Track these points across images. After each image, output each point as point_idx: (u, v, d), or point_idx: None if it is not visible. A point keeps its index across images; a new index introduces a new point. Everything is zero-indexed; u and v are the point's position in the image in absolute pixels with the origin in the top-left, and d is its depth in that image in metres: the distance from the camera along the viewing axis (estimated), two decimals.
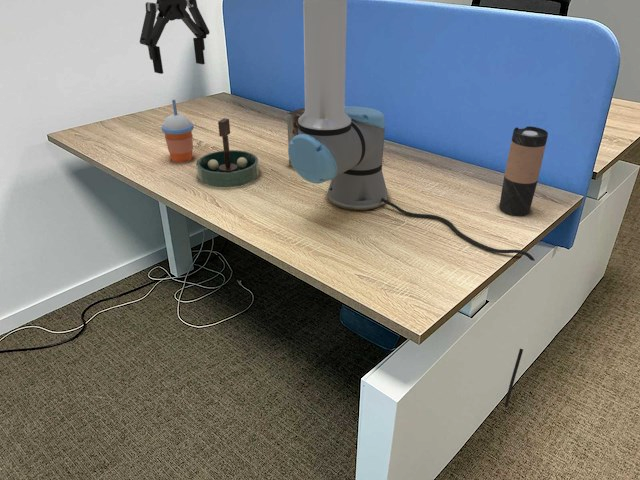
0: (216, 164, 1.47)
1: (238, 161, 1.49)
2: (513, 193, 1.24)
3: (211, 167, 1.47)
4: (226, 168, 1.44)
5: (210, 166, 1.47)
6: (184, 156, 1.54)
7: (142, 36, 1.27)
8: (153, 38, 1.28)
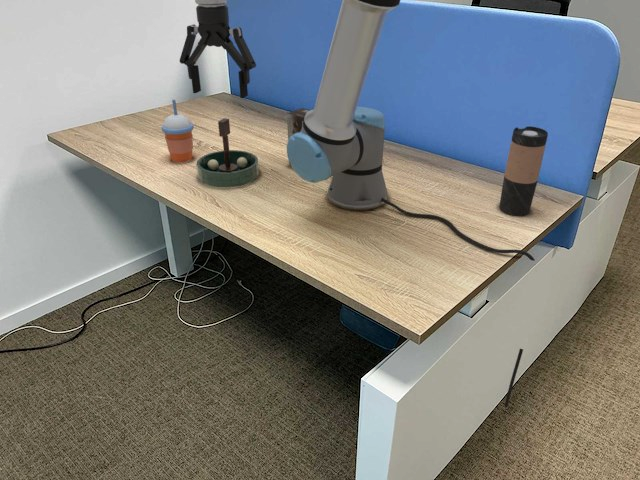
0: (216, 164, 1.47)
1: (238, 161, 1.49)
2: (513, 193, 1.24)
3: (211, 167, 1.47)
4: (226, 168, 1.44)
5: (210, 166, 1.47)
6: (184, 156, 1.54)
7: None
8: None
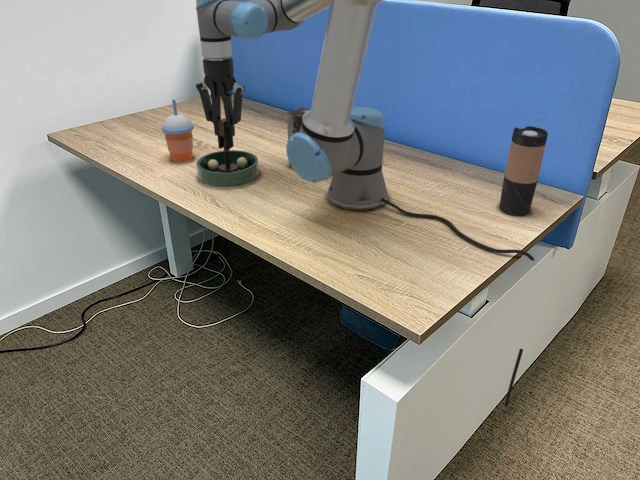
0: (216, 164, 1.47)
1: (238, 161, 1.49)
2: (512, 193, 1.24)
3: (211, 167, 1.47)
4: (226, 168, 1.44)
5: (210, 166, 1.47)
6: (184, 156, 1.54)
7: None
8: None
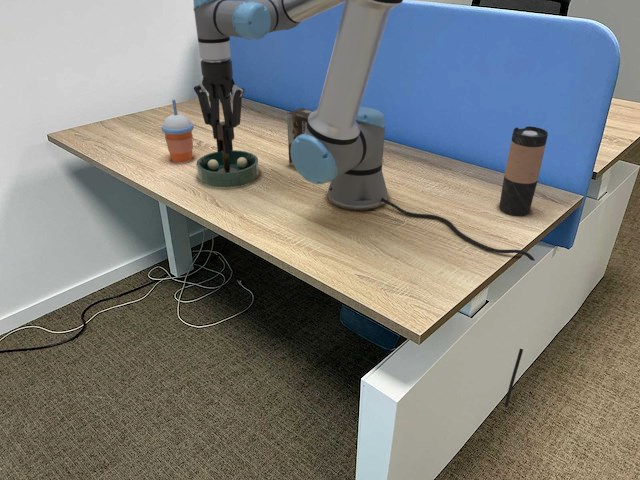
0: (216, 164, 1.47)
1: (238, 161, 1.49)
2: (512, 193, 1.24)
3: (211, 167, 1.47)
4: None
5: (210, 166, 1.47)
6: (184, 156, 1.54)
7: None
8: None
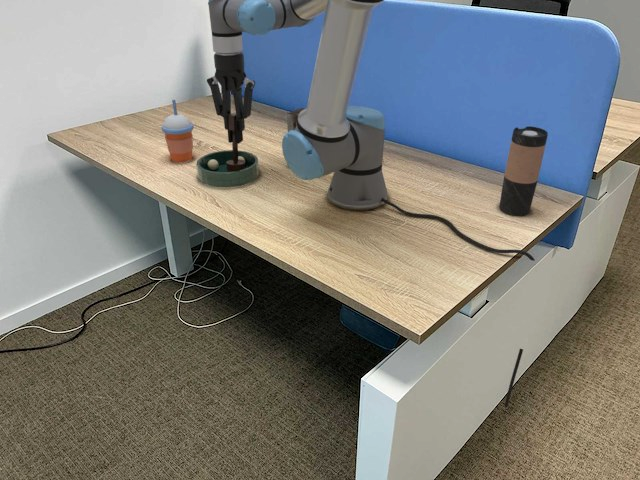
0: (216, 164, 1.47)
1: None
2: (512, 193, 1.24)
3: (211, 167, 1.47)
4: (234, 163, 1.45)
5: (210, 166, 1.47)
6: (184, 156, 1.54)
7: None
8: None
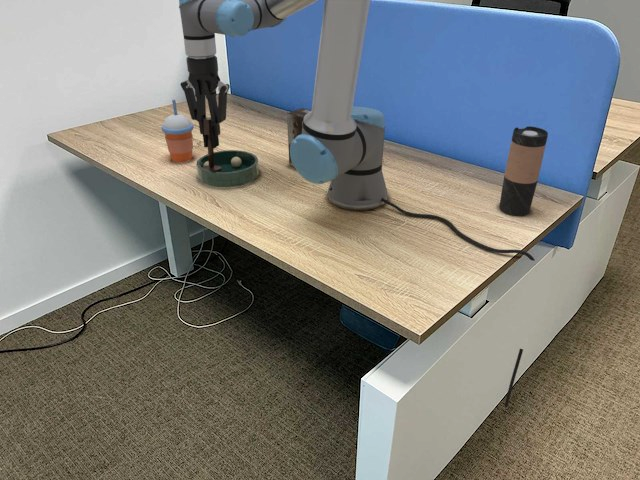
0: None
1: (232, 158, 1.50)
2: (513, 193, 1.24)
3: None
4: (209, 168, 1.42)
5: None
6: (184, 156, 1.54)
7: None
8: None
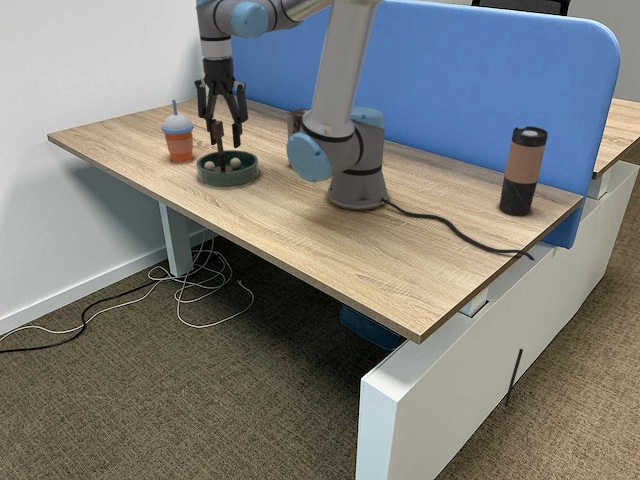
0: (208, 166, 1.46)
1: (231, 161, 1.49)
2: (513, 193, 1.24)
3: (204, 167, 1.47)
4: (221, 171, 1.42)
5: (204, 166, 1.47)
6: (184, 156, 1.54)
7: None
8: None
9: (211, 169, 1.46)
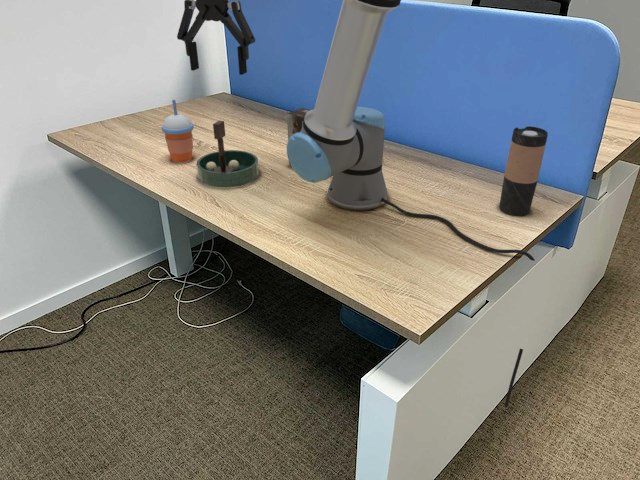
0: (210, 168, 1.45)
1: (229, 166, 1.47)
2: (512, 193, 1.24)
3: (206, 166, 1.46)
4: (221, 171, 1.43)
5: (206, 165, 1.46)
6: (184, 156, 1.54)
7: None
8: None
9: None
